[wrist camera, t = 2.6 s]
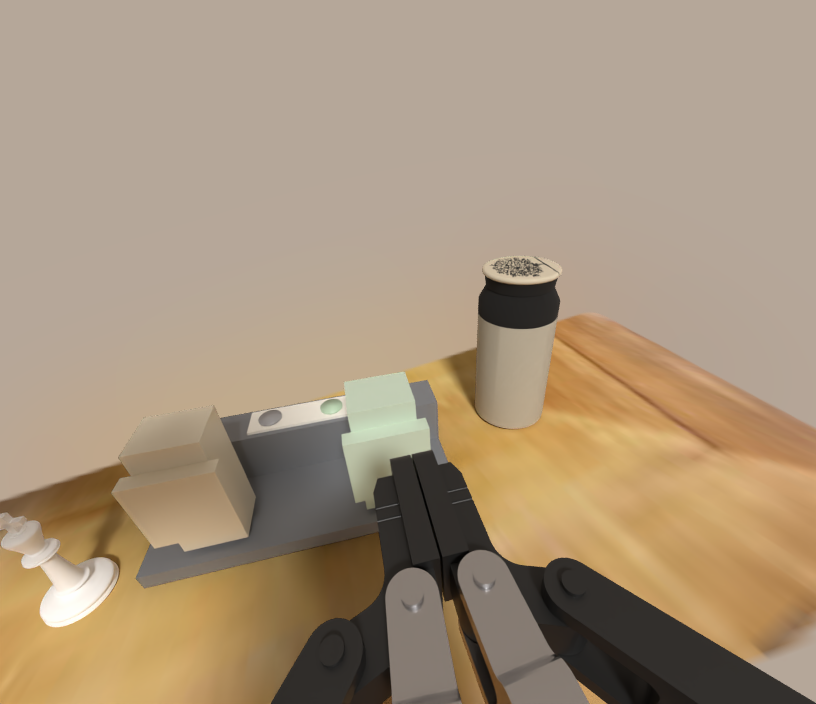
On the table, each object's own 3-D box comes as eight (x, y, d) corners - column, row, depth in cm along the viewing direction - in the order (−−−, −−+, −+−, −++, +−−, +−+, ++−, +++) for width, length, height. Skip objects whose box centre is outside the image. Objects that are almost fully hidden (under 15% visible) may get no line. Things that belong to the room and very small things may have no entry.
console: (144, 588, 29) (99, 537, 25) (190, 472, 39) (163, 424, 35) (463, 511, 32) (464, 458, 29) (429, 424, 42) (427, 376, 39)
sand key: (170, 568, 28) (96, 474, 22) (190, 510, 32) (133, 419, 26) (254, 548, 29) (204, 453, 23) (263, 495, 33) (223, 403, 27)
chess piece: (67, 568, 30) (-13, 493, 25) (129, 554, 31) (64, 478, 26) (27, 635, 26) (-78, 562, 21) (100, 617, 27) (16, 541, 22)
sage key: (360, 523, 30) (337, 427, 24) (355, 475, 34) (335, 383, 29) (433, 506, 31) (428, 409, 25) (419, 461, 35) (412, 370, 29)
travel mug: (480, 432, 41) (487, 283, 31) (470, 390, 47) (474, 257, 38) (550, 429, 40) (579, 278, 31) (531, 387, 47) (549, 252, 38)
